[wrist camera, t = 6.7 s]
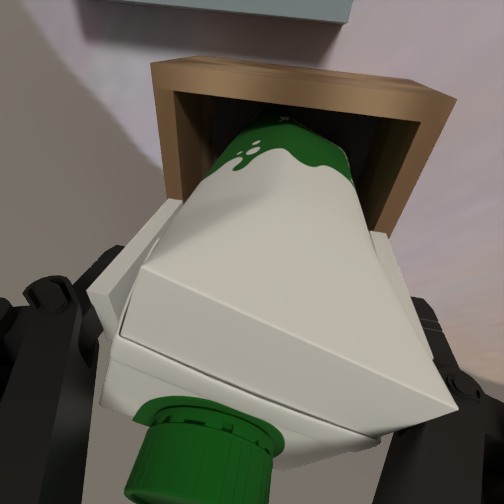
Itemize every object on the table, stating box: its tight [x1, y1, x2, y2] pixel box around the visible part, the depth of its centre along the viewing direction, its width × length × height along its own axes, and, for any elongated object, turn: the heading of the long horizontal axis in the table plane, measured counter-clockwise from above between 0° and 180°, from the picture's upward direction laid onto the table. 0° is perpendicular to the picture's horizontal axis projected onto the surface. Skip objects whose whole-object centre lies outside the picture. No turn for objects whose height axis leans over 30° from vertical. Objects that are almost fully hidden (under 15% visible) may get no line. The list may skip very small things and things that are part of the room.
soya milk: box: [99, 103, 459, 504], centre depth 14 cm, size 9×9×20 cm
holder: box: [150, 56, 457, 240], centre depth 19 cm, size 14×14×7 cm
